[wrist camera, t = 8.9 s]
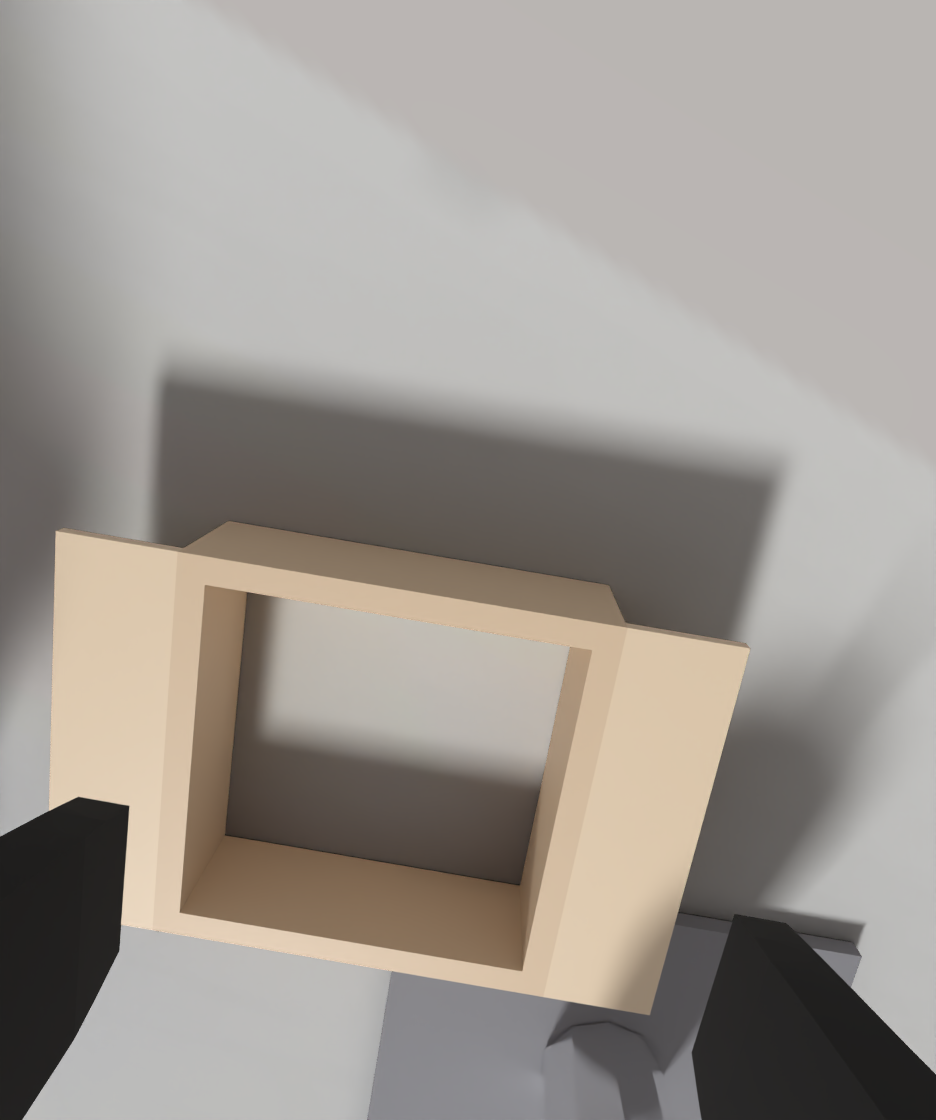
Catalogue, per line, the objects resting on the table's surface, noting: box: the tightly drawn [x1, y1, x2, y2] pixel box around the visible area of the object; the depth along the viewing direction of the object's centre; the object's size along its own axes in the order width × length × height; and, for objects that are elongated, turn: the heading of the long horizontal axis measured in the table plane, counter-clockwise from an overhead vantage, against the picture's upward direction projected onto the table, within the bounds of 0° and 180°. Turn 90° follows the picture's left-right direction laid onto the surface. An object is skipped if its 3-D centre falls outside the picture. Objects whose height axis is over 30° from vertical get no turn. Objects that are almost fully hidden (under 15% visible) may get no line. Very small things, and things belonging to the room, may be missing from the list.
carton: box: [49, 521, 750, 1015], centre depth 18 cm, size 9×14×3 cm, turn 81°
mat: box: [367, 888, 862, 1120], centre depth 22 cm, size 12×12×1 cm
